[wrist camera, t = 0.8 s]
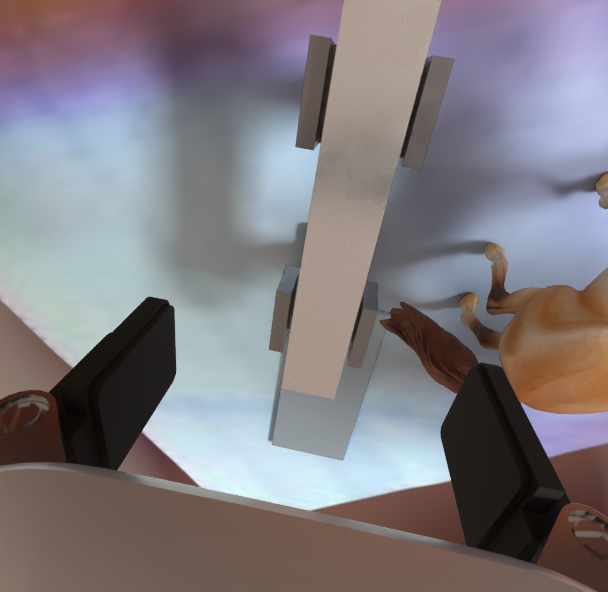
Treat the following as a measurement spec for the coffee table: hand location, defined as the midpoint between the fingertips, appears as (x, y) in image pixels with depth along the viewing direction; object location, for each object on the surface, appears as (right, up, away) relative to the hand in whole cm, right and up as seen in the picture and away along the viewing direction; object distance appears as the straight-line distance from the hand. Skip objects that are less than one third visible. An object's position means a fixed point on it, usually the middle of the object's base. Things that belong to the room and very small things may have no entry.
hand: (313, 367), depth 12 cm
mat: (+2, -9, +34) cm, 35 cm away
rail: (+2, +7, +13) cm, 15 cm away
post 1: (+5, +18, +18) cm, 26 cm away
